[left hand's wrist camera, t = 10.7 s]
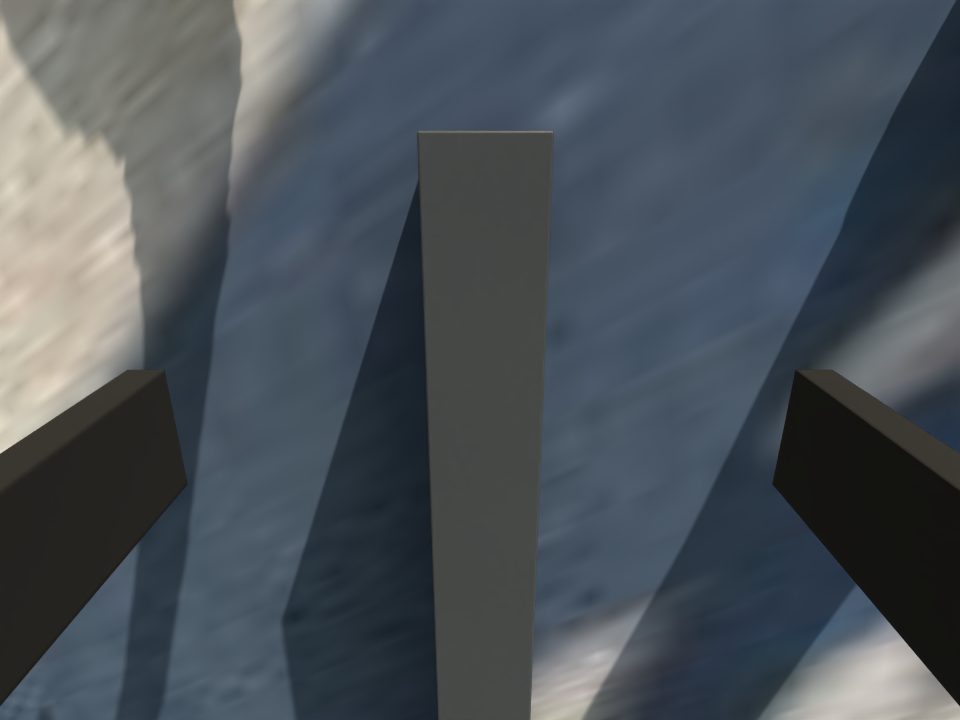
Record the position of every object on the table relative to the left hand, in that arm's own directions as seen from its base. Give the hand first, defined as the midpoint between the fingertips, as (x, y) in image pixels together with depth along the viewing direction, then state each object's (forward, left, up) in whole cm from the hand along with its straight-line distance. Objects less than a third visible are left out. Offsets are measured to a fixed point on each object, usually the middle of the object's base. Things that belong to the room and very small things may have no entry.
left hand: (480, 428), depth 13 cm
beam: (+17, +30, -19) cm, 40 cm away
